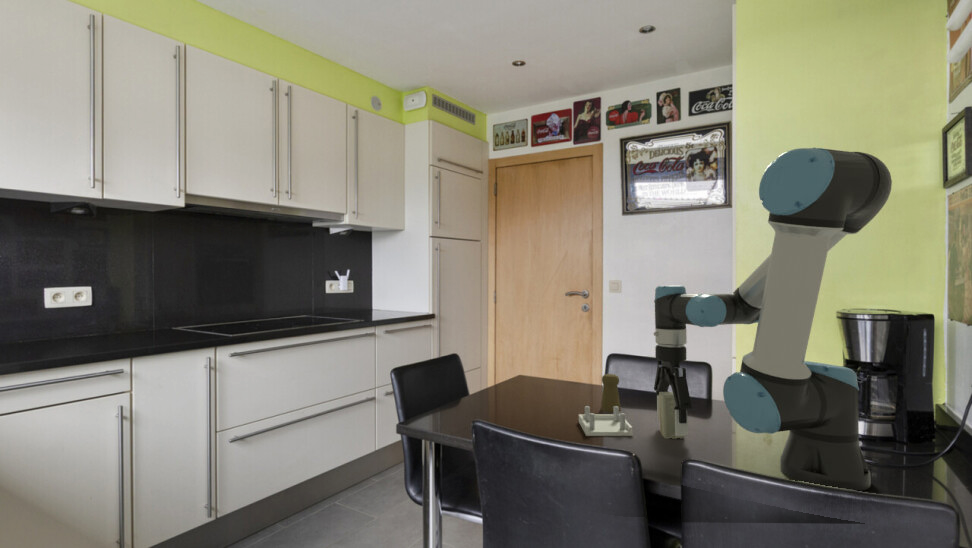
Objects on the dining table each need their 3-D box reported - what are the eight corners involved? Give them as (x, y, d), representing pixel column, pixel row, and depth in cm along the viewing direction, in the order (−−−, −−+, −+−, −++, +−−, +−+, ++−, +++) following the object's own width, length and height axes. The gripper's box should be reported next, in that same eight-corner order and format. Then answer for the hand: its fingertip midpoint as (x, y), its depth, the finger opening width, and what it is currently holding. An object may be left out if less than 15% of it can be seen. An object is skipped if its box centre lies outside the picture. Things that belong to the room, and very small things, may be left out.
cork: (600, 411, 147) (599, 375, 147) (601, 406, 153) (601, 372, 153) (620, 413, 145) (620, 376, 146) (621, 408, 151) (620, 373, 151)
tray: (632, 435, 124) (632, 416, 124) (586, 435, 125) (586, 416, 125) (621, 422, 136) (620, 404, 136) (578, 422, 137) (578, 404, 137)
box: (679, 433, 126) (679, 391, 126) (684, 439, 122) (684, 395, 122) (659, 433, 126) (658, 391, 126) (663, 438, 122) (663, 395, 122)
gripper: (641, 338, 137) (642, 413, 137) (673, 352, 112) (674, 443, 112) (668, 338, 137) (669, 413, 136) (705, 352, 112) (706, 443, 111)
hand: (671, 427), depth 124 cm, fingers open, 13 cm apart
